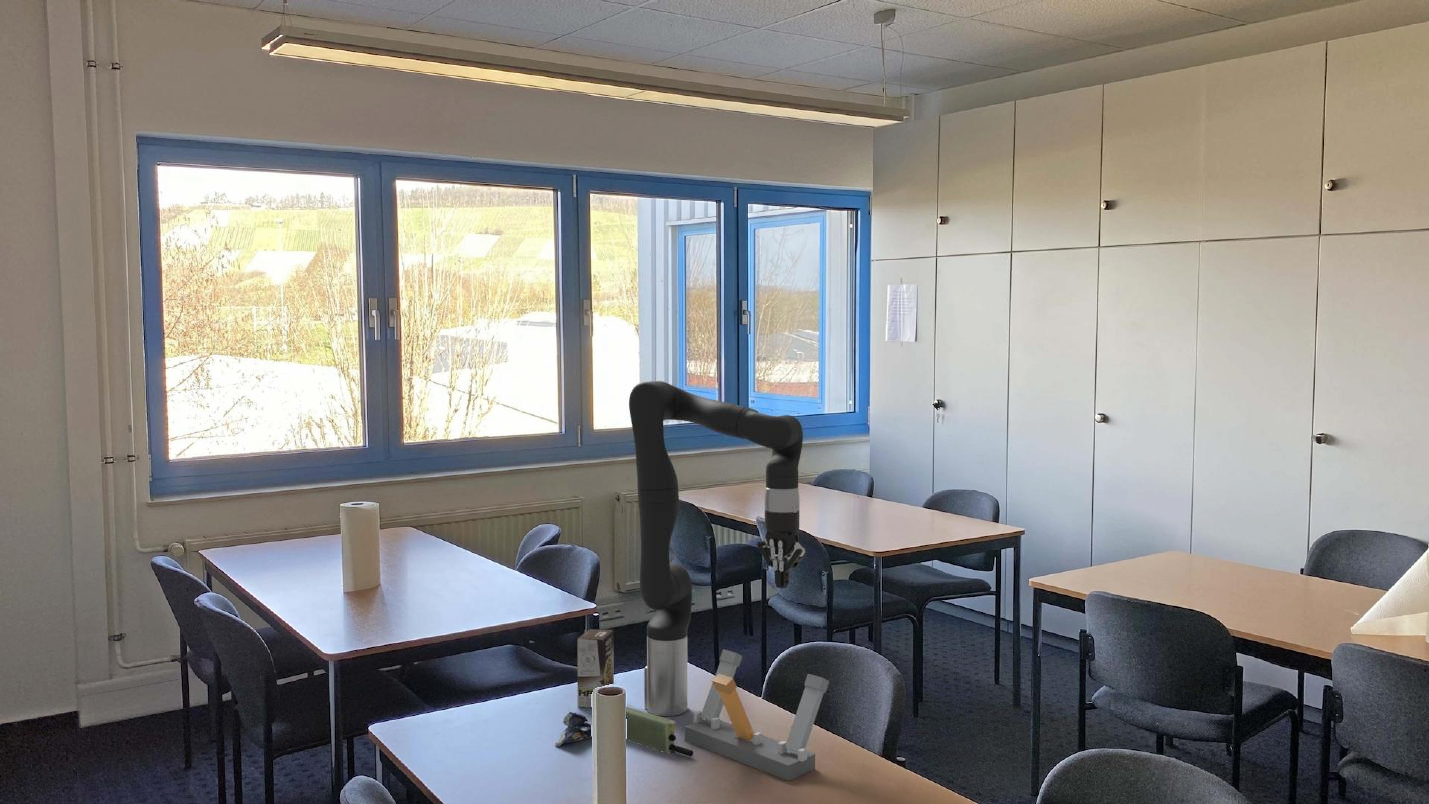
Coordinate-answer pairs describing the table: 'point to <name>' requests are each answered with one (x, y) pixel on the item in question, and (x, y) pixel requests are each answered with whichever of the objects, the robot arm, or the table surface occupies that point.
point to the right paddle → (806, 712)
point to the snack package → (575, 729)
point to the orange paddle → (733, 706)
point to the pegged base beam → (749, 748)
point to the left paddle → (714, 699)
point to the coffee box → (594, 663)
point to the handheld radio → (652, 731)
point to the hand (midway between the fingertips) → (781, 587)
